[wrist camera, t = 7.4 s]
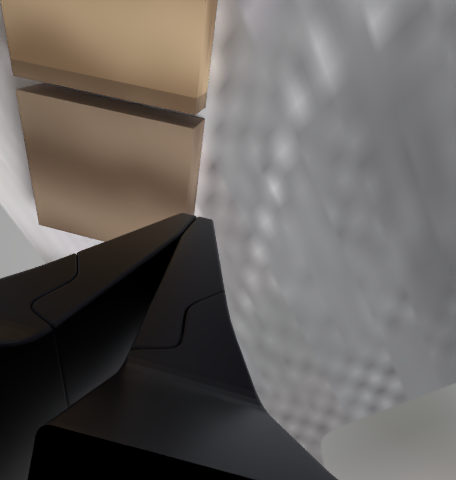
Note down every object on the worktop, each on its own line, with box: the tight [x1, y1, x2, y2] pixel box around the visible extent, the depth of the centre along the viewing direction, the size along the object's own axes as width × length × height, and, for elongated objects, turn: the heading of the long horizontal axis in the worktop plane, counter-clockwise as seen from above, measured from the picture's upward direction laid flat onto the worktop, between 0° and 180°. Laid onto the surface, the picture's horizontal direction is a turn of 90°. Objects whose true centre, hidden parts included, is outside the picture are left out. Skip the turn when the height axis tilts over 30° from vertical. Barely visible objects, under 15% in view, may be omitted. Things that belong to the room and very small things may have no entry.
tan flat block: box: [16, 84, 205, 242], centre depth 22 cm, size 9×10×2 cm
